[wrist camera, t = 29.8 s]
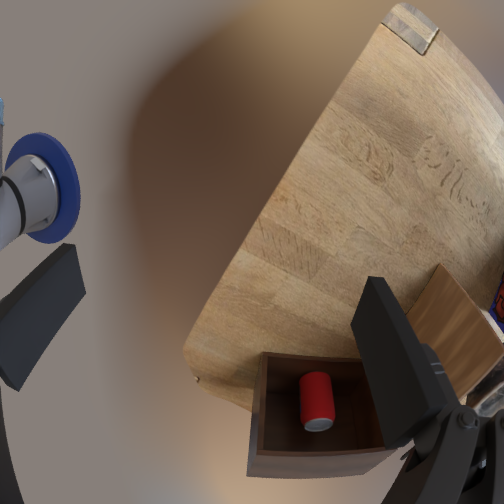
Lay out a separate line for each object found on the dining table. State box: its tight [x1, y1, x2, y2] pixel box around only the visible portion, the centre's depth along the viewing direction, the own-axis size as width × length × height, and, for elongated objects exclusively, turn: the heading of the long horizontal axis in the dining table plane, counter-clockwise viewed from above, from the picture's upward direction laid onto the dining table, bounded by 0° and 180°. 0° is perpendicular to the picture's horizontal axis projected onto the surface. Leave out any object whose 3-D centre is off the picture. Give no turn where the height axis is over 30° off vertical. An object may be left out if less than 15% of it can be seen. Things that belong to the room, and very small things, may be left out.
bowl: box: [466, 343, 504, 417], centre depth 49 cm, size 27×26×15 cm
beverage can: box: [299, 371, 336, 432], centre depth 50 cm, size 7×7×12 cm
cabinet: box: [246, 352, 398, 479], centre depth 47 cm, size 14×24×22 cm, turn 83°
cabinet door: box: [406, 263, 504, 402], centre depth 38 cm, size 6×24×22 cm, turn 163°
